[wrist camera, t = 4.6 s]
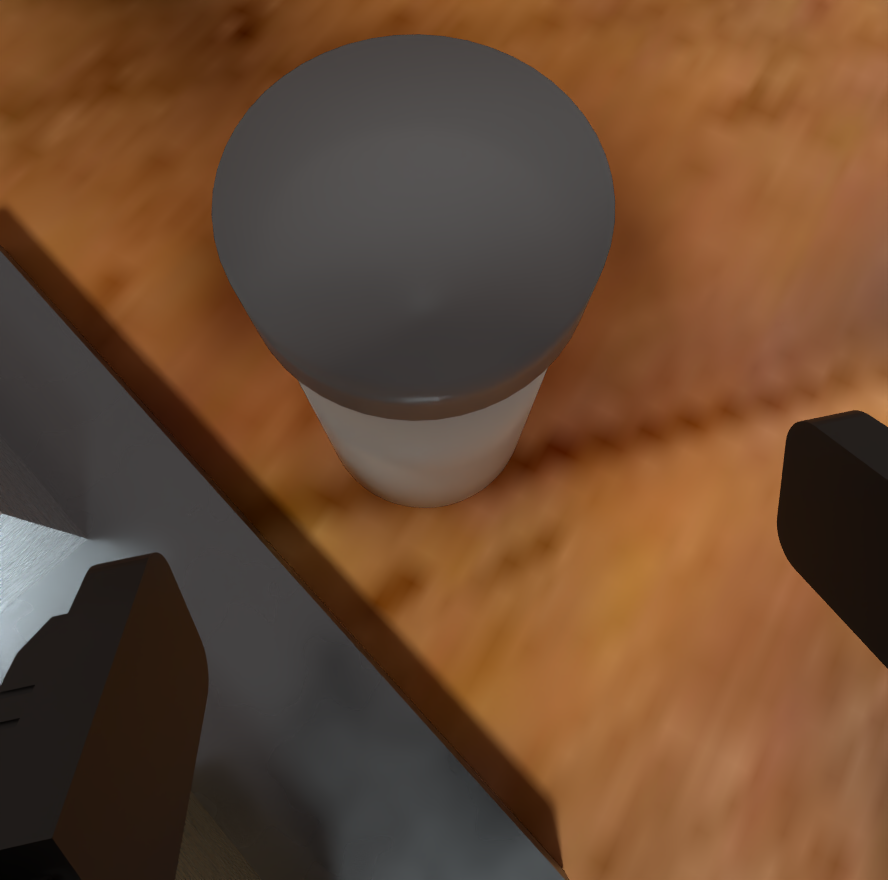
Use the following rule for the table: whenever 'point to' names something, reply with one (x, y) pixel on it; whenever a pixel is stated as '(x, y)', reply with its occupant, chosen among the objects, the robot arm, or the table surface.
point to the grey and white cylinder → (415, 250)
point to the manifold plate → (229, 640)
